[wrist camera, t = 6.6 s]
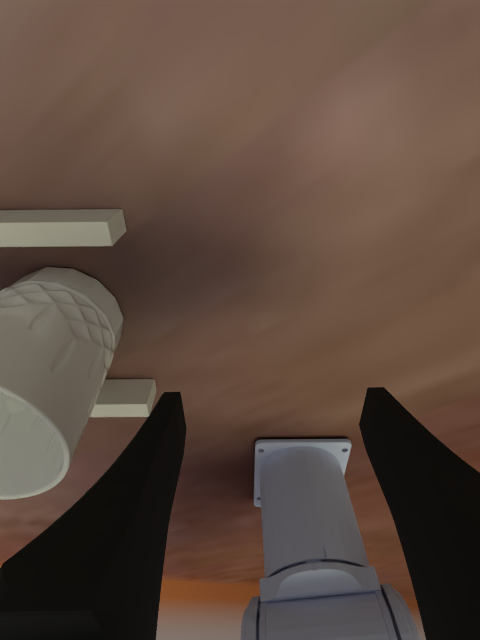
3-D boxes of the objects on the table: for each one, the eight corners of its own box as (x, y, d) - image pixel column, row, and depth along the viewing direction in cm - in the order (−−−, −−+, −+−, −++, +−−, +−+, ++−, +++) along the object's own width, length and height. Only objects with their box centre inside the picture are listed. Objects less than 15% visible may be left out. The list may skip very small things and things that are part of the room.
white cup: (-4, 332, 22) (-150, 467, 14) (20, 231, 19) (-157, 332, 10) (110, 376, 25) (44, 517, 16) (151, 294, 21) (93, 419, 13)
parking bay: (164, 429, 28) (153, 474, 24) (10, 430, 28) (-22, 475, 24) (105, 116, 16) (68, 117, 13) (-159, 119, 16) (-267, 120, 13)
